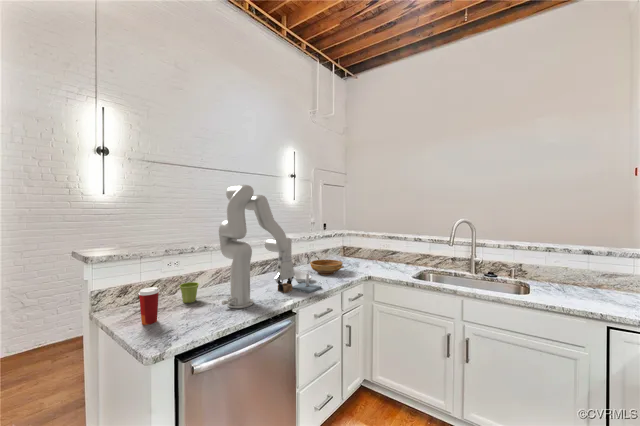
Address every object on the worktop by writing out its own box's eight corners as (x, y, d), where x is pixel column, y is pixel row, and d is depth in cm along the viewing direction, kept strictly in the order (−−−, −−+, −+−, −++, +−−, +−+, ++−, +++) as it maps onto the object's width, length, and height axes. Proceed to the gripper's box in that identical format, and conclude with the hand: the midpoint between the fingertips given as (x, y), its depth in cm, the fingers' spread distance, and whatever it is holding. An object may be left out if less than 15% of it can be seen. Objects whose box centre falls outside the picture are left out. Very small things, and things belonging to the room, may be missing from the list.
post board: (309, 293, 159) (309, 277, 159) (290, 288, 168) (290, 273, 167) (321, 288, 169) (321, 273, 169) (303, 284, 177) (303, 269, 177)
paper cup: (163, 318, 123) (163, 286, 123) (153, 325, 115) (153, 292, 115) (145, 318, 123) (144, 286, 122) (134, 326, 115) (133, 292, 115)
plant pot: (203, 300, 147) (203, 283, 147) (186, 305, 139) (186, 288, 139) (192, 297, 152) (191, 281, 152) (175, 302, 144) (175, 285, 143)
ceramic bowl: (300, 273, 207) (300, 262, 207) (321, 267, 226) (321, 257, 226) (332, 279, 188) (332, 268, 188) (352, 273, 207) (352, 262, 207)
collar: (285, 293, 159) (285, 286, 159) (277, 291, 163) (277, 285, 163) (292, 290, 164) (292, 284, 164) (284, 288, 168) (284, 282, 168)
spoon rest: (315, 282, 183) (315, 271, 183) (300, 285, 175) (300, 274, 175) (295, 275, 201) (295, 265, 201) (281, 277, 194) (281, 267, 194)
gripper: (278, 262, 154) (279, 294, 154) (299, 257, 168) (299, 287, 168) (269, 260, 158) (269, 291, 159) (290, 256, 172) (290, 285, 173)
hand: (285, 289), depth 164 cm, fingers open, 6 cm apart
